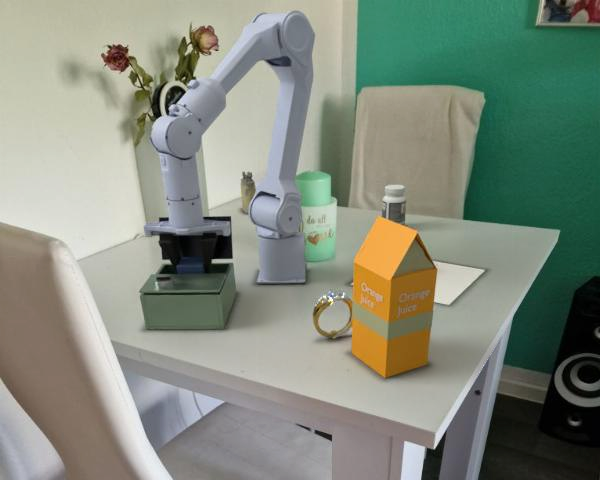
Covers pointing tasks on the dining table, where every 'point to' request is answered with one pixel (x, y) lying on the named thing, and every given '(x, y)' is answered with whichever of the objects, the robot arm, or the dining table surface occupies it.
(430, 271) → the orange juice
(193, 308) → the washer
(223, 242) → the lid
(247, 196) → the brown furry upright figure
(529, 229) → the dining table surface
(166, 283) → the white disc with bar
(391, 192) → the pill bottle
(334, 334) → the gold ring
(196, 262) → the navy cube
